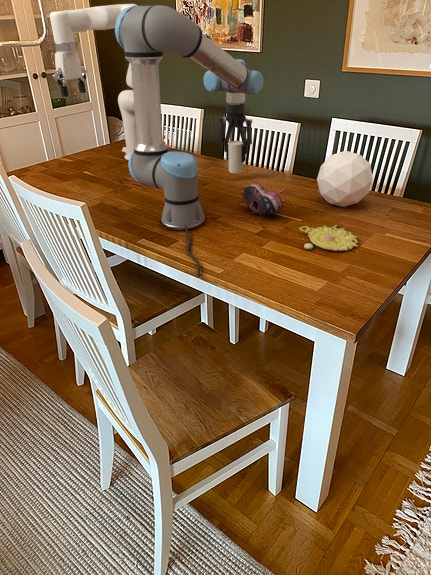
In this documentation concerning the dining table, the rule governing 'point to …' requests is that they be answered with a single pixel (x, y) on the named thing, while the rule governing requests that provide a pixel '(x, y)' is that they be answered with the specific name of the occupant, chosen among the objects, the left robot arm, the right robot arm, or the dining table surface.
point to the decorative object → (330, 238)
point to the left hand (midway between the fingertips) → (74, 94)
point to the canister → (235, 156)
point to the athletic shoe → (261, 200)
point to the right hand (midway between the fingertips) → (235, 160)
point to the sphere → (344, 178)
